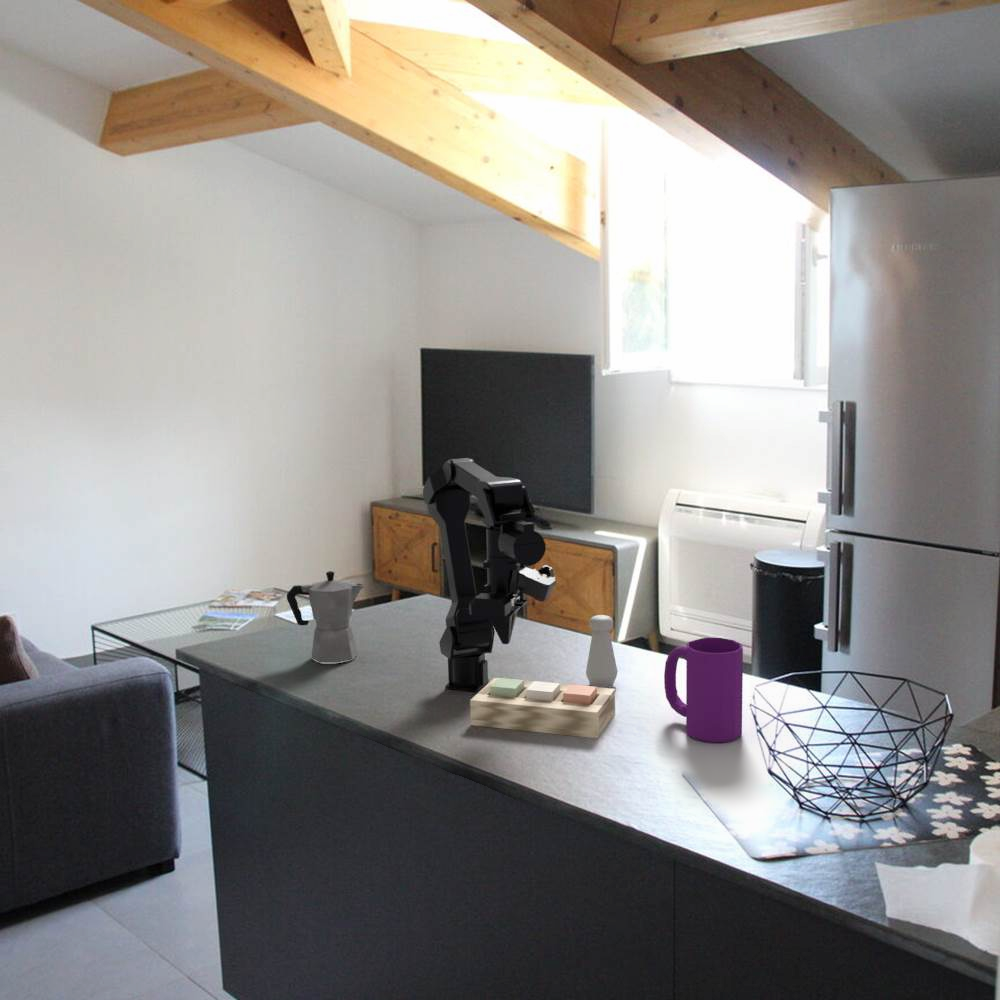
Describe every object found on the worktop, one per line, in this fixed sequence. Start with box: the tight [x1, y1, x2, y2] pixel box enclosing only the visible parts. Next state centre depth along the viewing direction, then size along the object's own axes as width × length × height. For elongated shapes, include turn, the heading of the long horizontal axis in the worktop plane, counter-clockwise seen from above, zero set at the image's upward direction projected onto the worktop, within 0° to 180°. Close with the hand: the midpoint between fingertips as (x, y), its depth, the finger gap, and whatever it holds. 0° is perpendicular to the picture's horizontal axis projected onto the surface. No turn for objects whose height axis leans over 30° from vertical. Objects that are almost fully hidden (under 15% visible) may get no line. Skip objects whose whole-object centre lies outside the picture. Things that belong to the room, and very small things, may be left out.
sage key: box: [490, 677, 525, 698], centre depth 199 cm, size 5×5×3 cm
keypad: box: [469, 677, 616, 739], centre depth 197 cm, size 22×12×4 cm, turn 70°
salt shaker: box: [585, 614, 618, 688], centre depth 213 cm, size 6×6×13 cm
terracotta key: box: [563, 684, 597, 705], centre depth 194 cm, size 5×5×3 cm
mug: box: [663, 637, 744, 744], centre depth 190 cm, size 9×16×15 cm, turn 37°
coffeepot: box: [286, 570, 365, 662], centre depth 232 cm, size 15×9×18 cm, turn 102°
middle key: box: [526, 680, 561, 701], centre depth 196 cm, size 5×5×3 cm
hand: (505, 643), depth 197 cm, fingers closed
